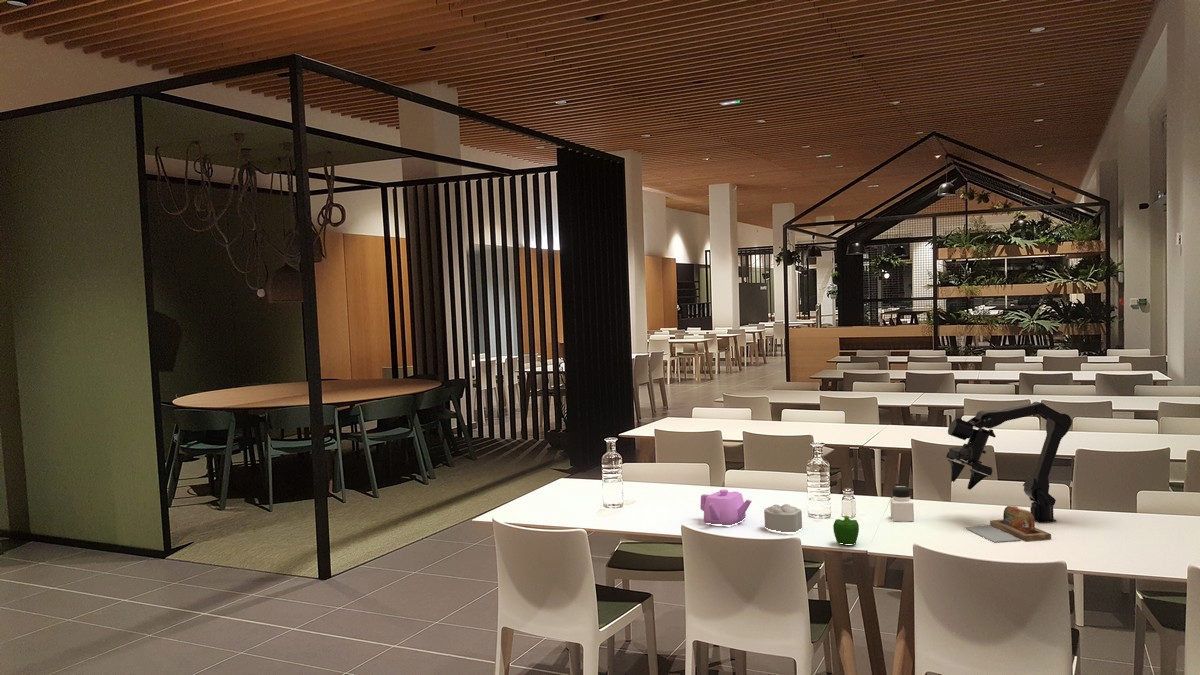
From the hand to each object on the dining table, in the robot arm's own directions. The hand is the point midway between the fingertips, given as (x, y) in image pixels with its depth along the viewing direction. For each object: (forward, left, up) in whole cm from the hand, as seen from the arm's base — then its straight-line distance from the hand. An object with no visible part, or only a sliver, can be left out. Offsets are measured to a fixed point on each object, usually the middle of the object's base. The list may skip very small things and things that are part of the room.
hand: (960, 485), depth 303 cm
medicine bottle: (+17, -11, -14) cm, 25 cm away
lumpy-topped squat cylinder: (+63, -9, -14) cm, 65 cm away
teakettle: (+80, -25, -14) cm, 85 cm away
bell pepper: (+48, +14, -14) cm, 52 cm away
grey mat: (-2, +16, -14) cm, 21 cm away
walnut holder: (-12, +16, -14) cm, 24 cm away
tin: (-12, +16, -14) cm, 24 cm away
